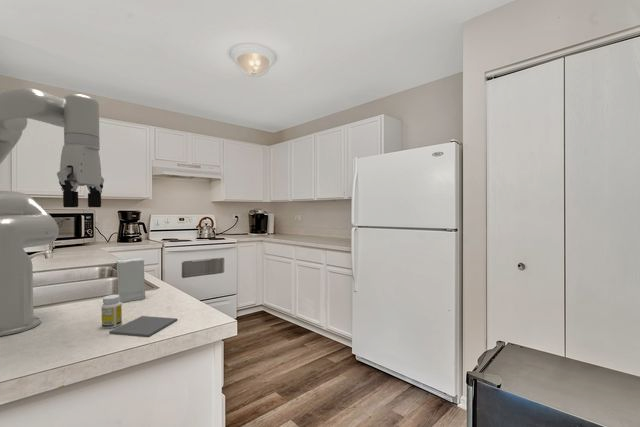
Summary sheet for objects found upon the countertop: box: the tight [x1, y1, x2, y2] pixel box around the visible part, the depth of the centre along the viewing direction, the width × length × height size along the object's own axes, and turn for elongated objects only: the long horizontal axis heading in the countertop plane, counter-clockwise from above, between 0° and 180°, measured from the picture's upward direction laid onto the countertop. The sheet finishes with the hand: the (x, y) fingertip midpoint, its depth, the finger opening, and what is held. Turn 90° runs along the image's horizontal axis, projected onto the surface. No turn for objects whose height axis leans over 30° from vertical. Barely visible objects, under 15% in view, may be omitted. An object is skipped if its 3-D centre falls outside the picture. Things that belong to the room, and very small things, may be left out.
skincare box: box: [116, 257, 146, 303], centre depth 114 cm, size 8×6×15 cm
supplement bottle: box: [101, 294, 123, 329], centre depth 89 cm, size 5×5×8 cm
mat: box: [108, 315, 178, 338], centre depth 88 cm, size 12×12×1 cm
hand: (83, 207), depth 83 cm, fingers open, 9 cm apart
